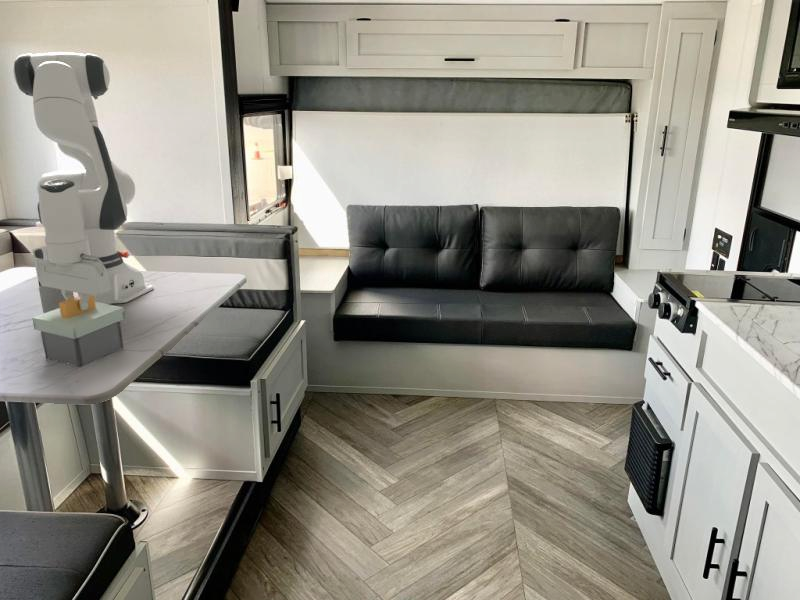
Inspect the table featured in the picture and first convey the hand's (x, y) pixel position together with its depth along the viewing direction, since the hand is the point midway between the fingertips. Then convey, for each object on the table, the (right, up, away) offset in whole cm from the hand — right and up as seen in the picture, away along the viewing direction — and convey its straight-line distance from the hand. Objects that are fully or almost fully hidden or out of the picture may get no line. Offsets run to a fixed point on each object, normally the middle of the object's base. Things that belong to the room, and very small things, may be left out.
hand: (78, 307), depth 149 cm
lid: (0, -4, +1) cm, 4 cm away
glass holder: (-16, -4, +25) cm, 30 cm away
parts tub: (0, -11, +4) cm, 12 cm away
